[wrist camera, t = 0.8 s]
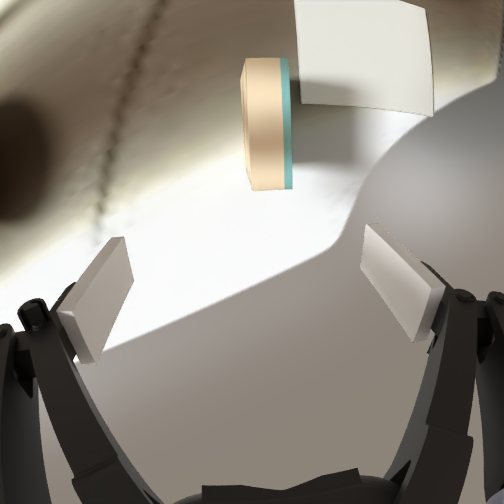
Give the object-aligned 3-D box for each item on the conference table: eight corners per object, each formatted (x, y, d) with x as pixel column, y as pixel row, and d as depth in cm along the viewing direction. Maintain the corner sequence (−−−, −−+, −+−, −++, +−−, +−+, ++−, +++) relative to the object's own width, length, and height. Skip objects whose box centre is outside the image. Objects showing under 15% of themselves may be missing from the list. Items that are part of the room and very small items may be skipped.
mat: (292, -17, 23) (293, -19, 22) (422, 9, 24) (424, 8, 23) (300, 103, 30) (301, 103, 29) (430, 116, 31) (433, 116, 30)
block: (240, 79, 28) (245, 58, 18) (268, 78, 29) (288, 58, 18) (245, 165, 33) (252, 191, 22) (271, 164, 33) (292, 189, 22)
